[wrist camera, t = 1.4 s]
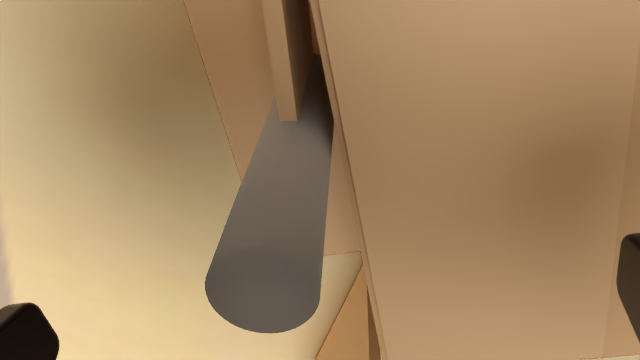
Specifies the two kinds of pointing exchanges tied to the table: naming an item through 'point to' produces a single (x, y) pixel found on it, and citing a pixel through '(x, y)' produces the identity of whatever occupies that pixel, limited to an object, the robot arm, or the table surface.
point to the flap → (280, 191)
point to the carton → (462, 167)
